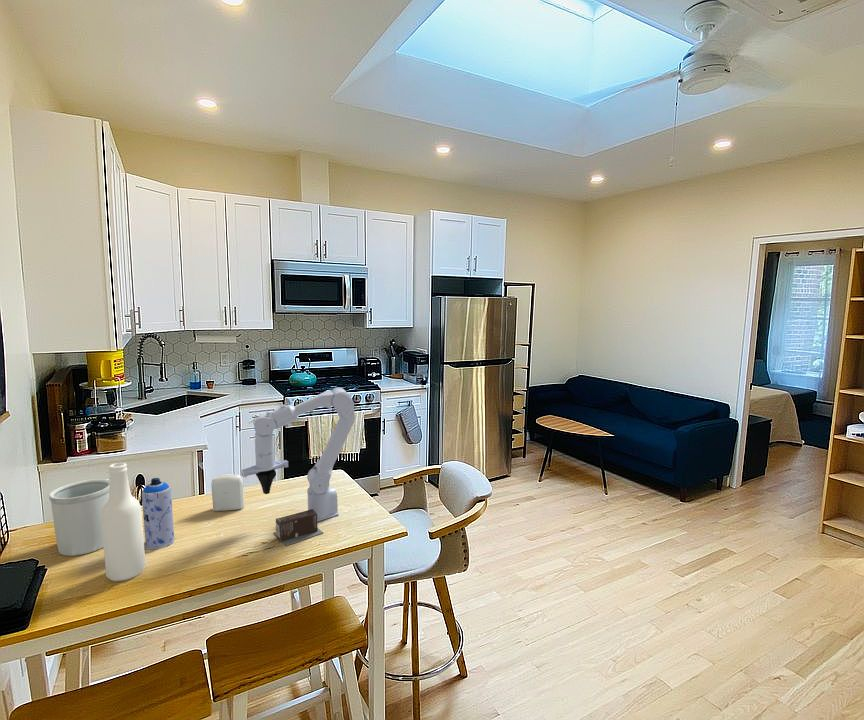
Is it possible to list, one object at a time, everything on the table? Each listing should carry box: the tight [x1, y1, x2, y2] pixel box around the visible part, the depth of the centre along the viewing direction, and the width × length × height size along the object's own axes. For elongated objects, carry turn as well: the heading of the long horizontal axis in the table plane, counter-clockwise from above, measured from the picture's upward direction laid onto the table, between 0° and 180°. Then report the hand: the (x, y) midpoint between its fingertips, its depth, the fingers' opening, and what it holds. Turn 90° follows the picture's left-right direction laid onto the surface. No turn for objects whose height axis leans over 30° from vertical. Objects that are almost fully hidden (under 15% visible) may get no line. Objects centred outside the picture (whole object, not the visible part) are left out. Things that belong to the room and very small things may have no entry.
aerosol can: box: [141, 477, 176, 550], centre depth 139 cm, size 8×8×20 cm
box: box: [275, 509, 319, 542], centre depth 145 cm, size 6×4×12 cm
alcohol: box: [101, 462, 146, 582], centre depth 123 cm, size 9×9×30 cm
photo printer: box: [211, 473, 245, 512], centre depth 162 cm, size 10×4×12 cm, turn 99°
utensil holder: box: [48, 478, 109, 557], centre depth 138 cm, size 15×15×18 cm
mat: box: [273, 527, 324, 547], centre depth 146 cm, size 12×10×1 cm
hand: (266, 492), depth 151 cm, fingers closed
